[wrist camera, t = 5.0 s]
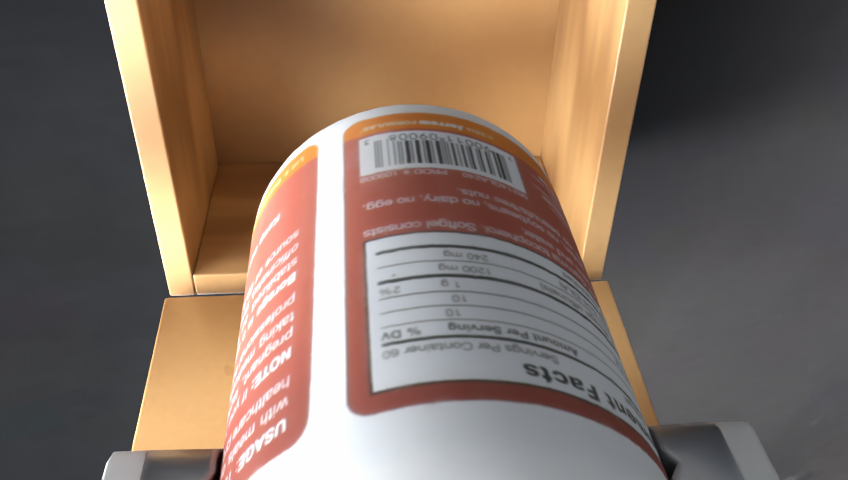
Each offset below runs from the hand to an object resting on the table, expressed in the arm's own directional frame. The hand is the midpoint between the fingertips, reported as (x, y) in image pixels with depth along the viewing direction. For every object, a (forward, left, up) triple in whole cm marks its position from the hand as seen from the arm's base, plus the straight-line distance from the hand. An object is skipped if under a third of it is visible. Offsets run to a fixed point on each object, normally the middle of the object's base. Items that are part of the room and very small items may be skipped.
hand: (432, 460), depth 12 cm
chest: (0, 0, -19) cm, 19 cm away
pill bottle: (0, 0, -6) cm, 6 cm away
